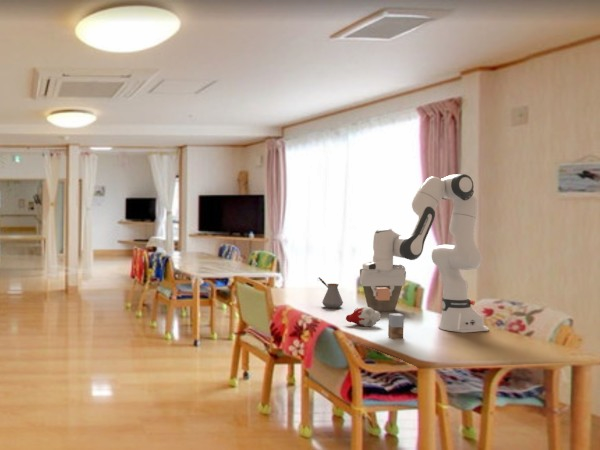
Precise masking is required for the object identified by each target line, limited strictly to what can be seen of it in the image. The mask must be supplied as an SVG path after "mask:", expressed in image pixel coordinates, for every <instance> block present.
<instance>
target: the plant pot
mask: <svg viewBox="0 0 600 450" xmlns="http://www.w3.org/2000/svg"><path fill="white" fill-rule="evenodd" d="M363 269H364V268H363V267H362V268H360V269H359V277H360V276H361V271H362V270H363ZM406 276H407V272H406V270H405V279H406V278H407V277H406ZM384 287H386V288H389V289H391V288H390V286H376V287H375V289H376V288H384ZM362 288H363V291H364V296H365V297H364V298H365V301H366V305H367V306H366V307H370V308H372V309H373V310H374V311H378V312H393V311H396V307H397V304H398V301H399V298H400V294H401V291H402V288H403V286H394V289H393V291H392V296H390V300H380V301H379V300H377V299H375V296H374V295H373V293H374V292H373V290H372V289H371V286H362Z"/></svg>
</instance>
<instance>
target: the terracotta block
mask: <svg viewBox="0 0 600 450" xmlns="http://www.w3.org/2000/svg"><path fill="white" fill-rule="evenodd" d="M375 291H376V292H378V296H375V299H377V300H379V301H380V300H390V289H389V288H386V287H384V288H376V289H375Z"/></svg>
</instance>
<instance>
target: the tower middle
mask: <svg viewBox="0 0 600 450" xmlns="http://www.w3.org/2000/svg"><path fill="white" fill-rule="evenodd" d="M404 320H405V319H404V314H402V313H400V312H399V313H388V325H389V326H391V327H403V328H405V326H404V325H405V323H404V322H405V321H404Z"/></svg>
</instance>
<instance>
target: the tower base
mask: <svg viewBox="0 0 600 450" xmlns="http://www.w3.org/2000/svg"><path fill="white" fill-rule="evenodd" d="M387 329H388V332H387V333H388V334H387V335H388V336H389V338H390V339H391V340H400V339H401V340H402V339H404V327H391V326H389V324H388V327H387Z"/></svg>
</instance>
